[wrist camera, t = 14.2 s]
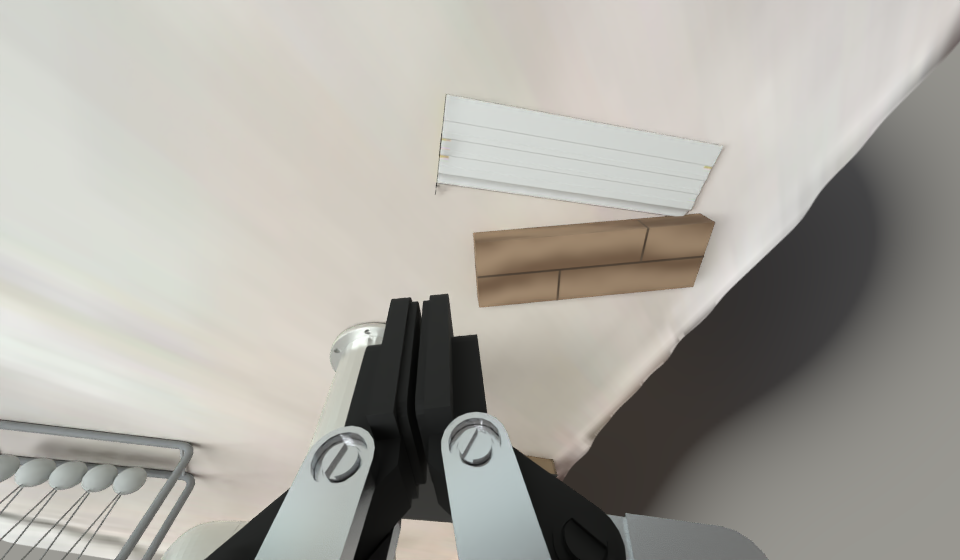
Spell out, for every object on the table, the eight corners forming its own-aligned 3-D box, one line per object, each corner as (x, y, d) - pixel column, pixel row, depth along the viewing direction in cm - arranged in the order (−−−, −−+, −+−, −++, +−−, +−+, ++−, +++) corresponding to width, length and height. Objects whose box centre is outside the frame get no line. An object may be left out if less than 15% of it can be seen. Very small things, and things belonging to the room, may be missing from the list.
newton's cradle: (-21, 455, 53) (-203, 608, 38) (-45, 413, 48) (-265, 570, 33) (201, 476, 61) (122, 609, 46) (200, 441, 56) (111, 579, 41)
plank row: (680, 275, 47) (693, 287, 44) (477, 294, 45) (479, 307, 43) (699, 213, 42) (715, 222, 40) (473, 232, 41) (474, 243, 38)
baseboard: (673, 225, 43) (714, 143, 38) (687, 234, 41) (732, 148, 36) (434, 193, 38) (445, 92, 33) (434, 201, 36) (445, 94, 31)
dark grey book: (559, 476, 65) (507, 532, 77) (553, 455, 69) (504, 511, 80) (387, 453, 56) (357, 520, 68) (390, 430, 60) (361, 498, 71)
